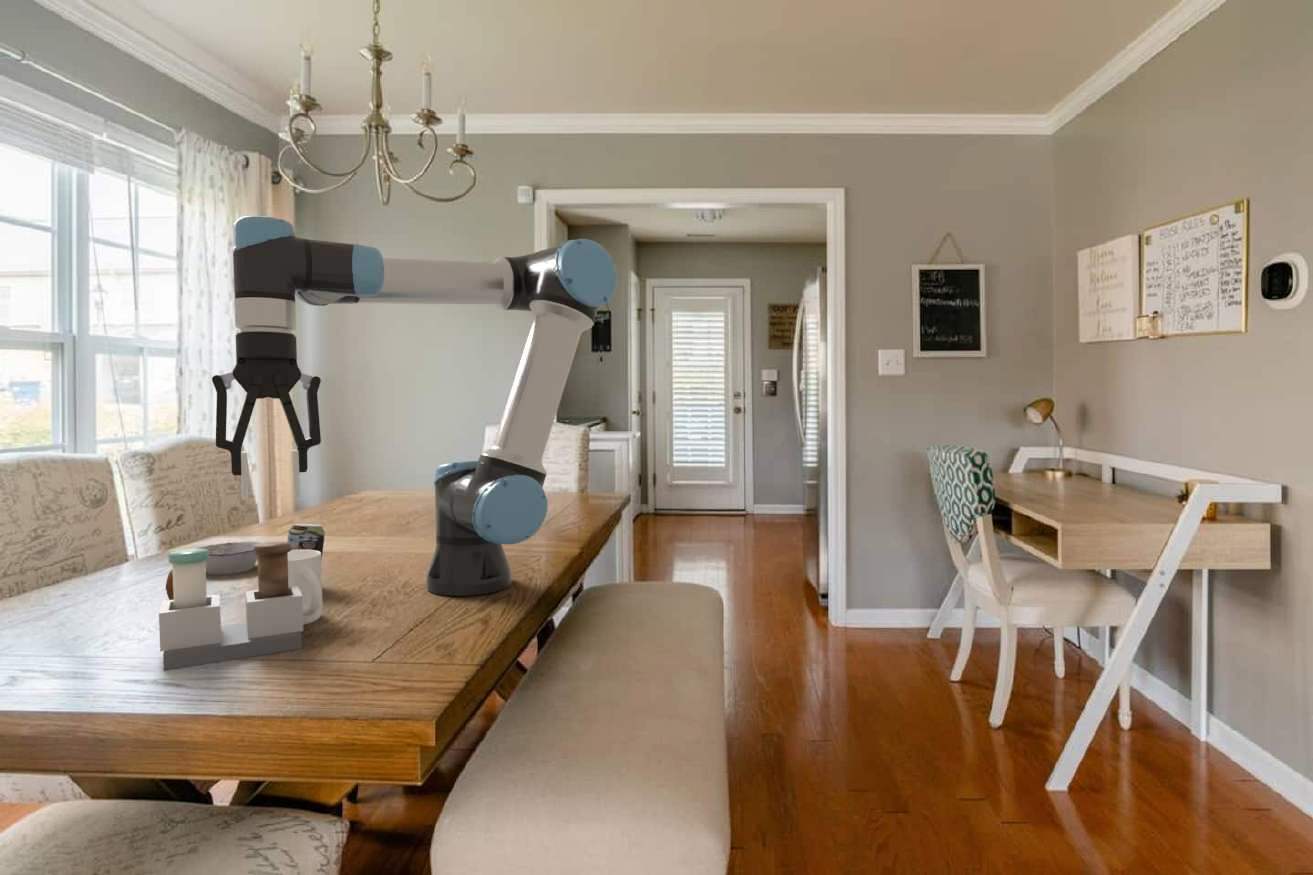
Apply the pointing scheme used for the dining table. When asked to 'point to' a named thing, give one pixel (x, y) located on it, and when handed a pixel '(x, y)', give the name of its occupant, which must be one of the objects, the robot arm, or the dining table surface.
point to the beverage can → (306, 537)
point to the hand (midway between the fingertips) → (271, 496)
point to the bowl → (230, 557)
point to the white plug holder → (230, 630)
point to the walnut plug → (272, 569)
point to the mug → (307, 581)
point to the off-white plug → (189, 577)
